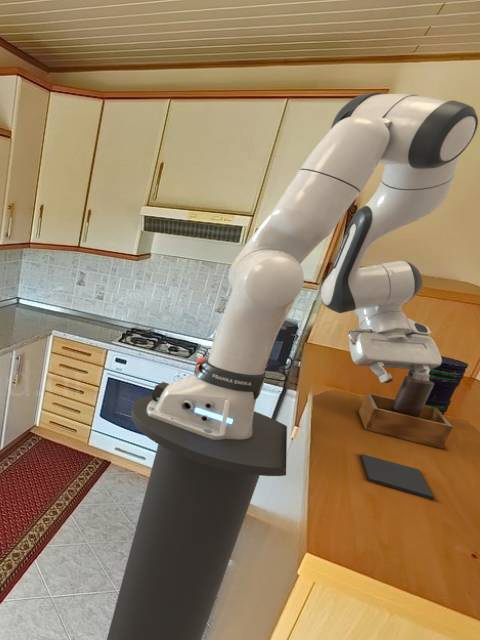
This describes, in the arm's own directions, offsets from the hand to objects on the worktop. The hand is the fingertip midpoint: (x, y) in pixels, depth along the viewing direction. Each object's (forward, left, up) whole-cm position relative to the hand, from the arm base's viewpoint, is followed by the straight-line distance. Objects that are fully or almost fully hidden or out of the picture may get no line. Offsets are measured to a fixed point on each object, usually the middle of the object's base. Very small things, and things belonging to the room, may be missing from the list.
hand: (405, 383), depth 113 cm
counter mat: (-3, -34, -10) cm, 36 cm away
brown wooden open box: (+2, -2, -10) cm, 11 cm away
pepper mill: (+2, -2, -10) cm, 10 cm away
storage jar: (+8, +16, -11) cm, 21 cm away
